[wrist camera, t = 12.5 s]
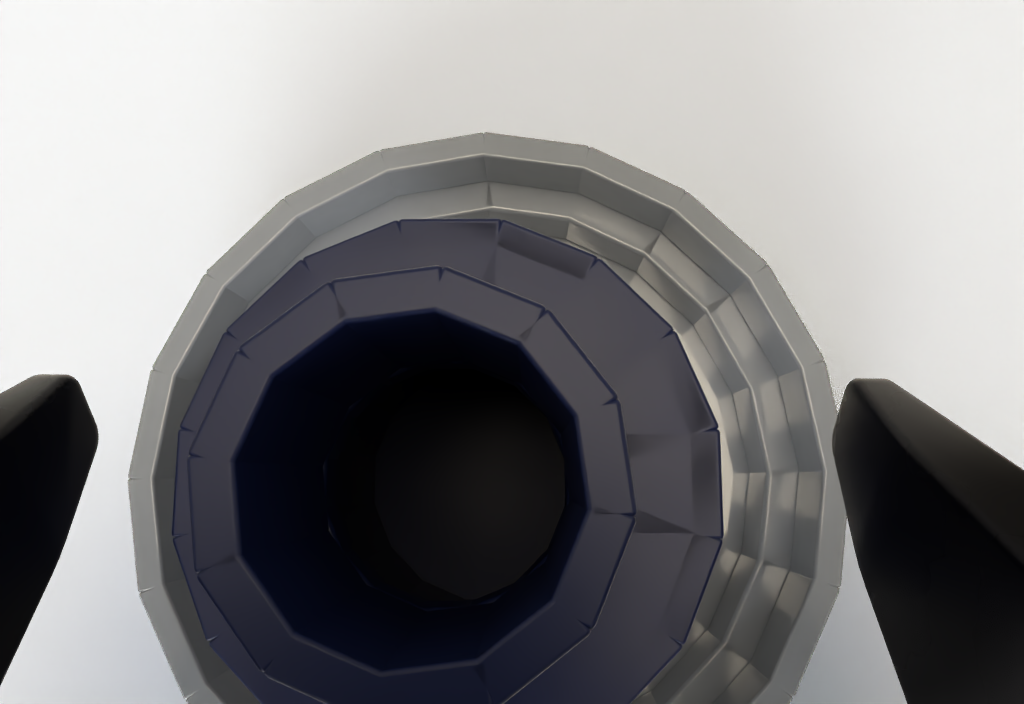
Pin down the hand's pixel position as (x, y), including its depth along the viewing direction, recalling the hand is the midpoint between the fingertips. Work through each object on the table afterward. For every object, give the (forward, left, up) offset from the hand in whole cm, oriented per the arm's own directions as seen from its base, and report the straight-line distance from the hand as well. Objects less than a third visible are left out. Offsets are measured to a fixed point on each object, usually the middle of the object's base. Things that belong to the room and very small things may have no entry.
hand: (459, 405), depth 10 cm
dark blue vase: (-1, 0, -8) cm, 8 cm away
